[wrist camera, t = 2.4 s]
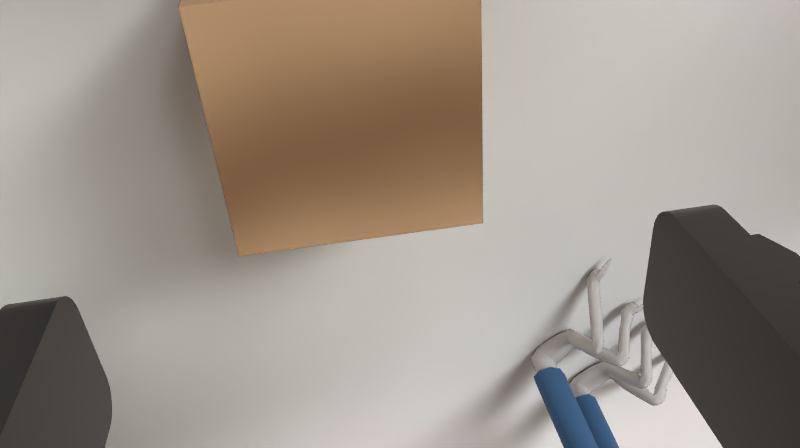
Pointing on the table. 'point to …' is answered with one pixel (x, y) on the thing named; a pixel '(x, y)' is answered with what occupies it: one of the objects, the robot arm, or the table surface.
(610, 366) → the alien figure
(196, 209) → the table surface
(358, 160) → the walnut block
